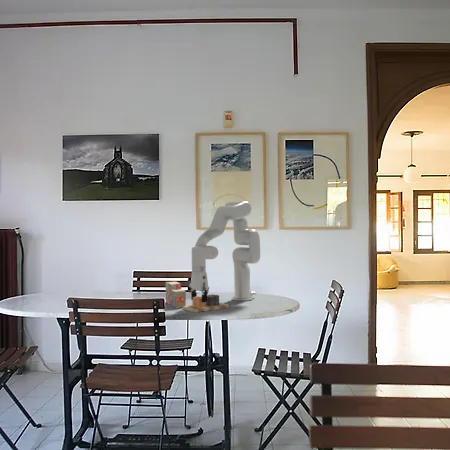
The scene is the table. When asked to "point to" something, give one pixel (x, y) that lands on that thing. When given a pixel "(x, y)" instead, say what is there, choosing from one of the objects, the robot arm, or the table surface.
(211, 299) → the gear board
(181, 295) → the stack of blocks
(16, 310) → the table surface
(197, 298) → the loose gear
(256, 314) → the table surface
